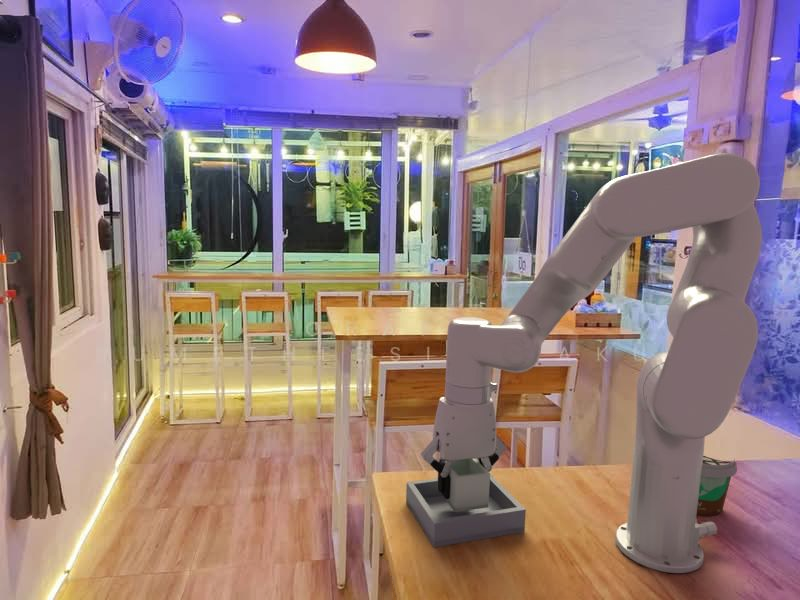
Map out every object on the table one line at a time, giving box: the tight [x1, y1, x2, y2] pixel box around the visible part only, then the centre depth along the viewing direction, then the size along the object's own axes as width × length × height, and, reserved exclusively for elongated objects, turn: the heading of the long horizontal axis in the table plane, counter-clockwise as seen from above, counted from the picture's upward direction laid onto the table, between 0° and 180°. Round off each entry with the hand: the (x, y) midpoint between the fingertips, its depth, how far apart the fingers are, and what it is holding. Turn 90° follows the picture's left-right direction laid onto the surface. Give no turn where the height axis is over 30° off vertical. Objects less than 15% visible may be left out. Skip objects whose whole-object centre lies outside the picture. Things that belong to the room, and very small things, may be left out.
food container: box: [696, 455, 738, 518], centre depth 99 cm, size 12×6×10 cm, turn 62°
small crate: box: [437, 458, 491, 512], centre depth 95 cm, size 6×8×6 cm
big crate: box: [405, 473, 527, 548], centre depth 96 cm, size 16×14×4 cm
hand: (462, 491), depth 96 cm, fingers closed on small crate, 6 cm apart
